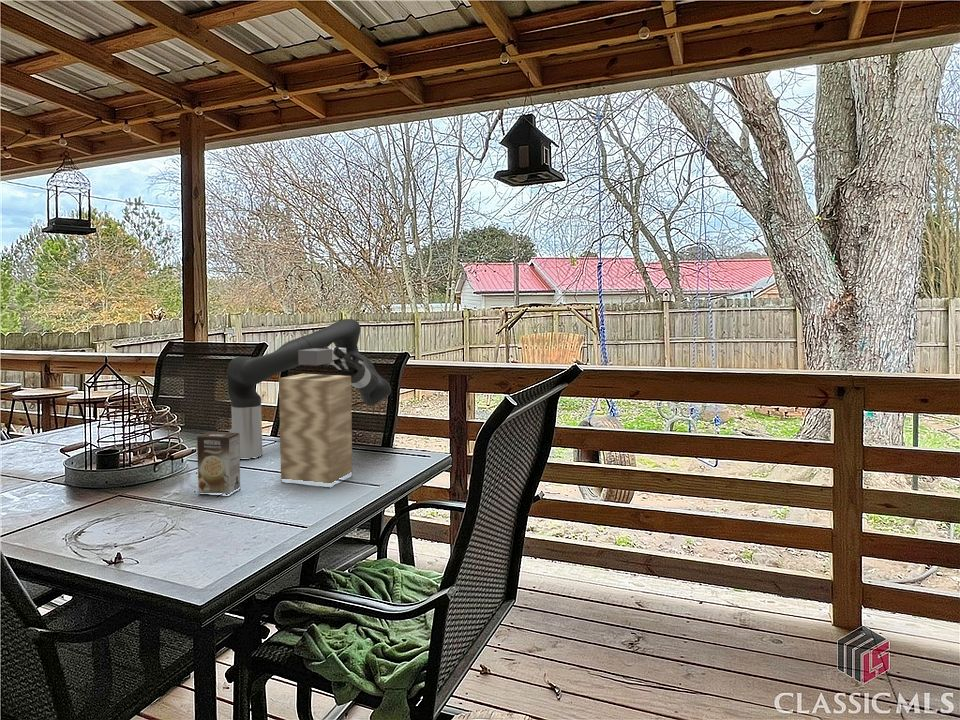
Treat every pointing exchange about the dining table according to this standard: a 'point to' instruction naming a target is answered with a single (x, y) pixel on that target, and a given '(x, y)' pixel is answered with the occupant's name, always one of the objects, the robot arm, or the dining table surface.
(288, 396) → the pedestal
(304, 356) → the block
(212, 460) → the coffee box
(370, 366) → the robot arm
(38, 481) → the dining table surface
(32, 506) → the dining table surface
